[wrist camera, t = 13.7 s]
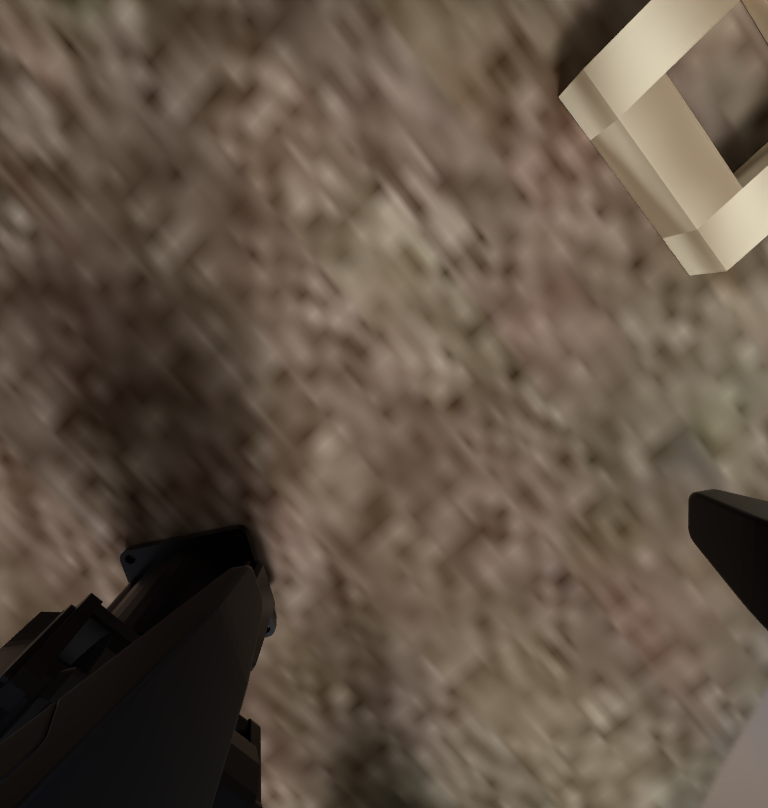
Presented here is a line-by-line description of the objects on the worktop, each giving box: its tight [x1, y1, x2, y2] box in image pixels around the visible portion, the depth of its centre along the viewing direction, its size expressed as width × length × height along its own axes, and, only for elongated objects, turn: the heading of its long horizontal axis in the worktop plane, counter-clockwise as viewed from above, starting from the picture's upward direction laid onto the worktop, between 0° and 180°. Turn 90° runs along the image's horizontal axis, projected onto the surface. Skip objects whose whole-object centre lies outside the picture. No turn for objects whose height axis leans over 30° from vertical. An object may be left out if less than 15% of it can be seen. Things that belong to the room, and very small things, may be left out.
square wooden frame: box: [559, 0, 768, 275], centre depth 15 cm, size 10×10×4 cm
